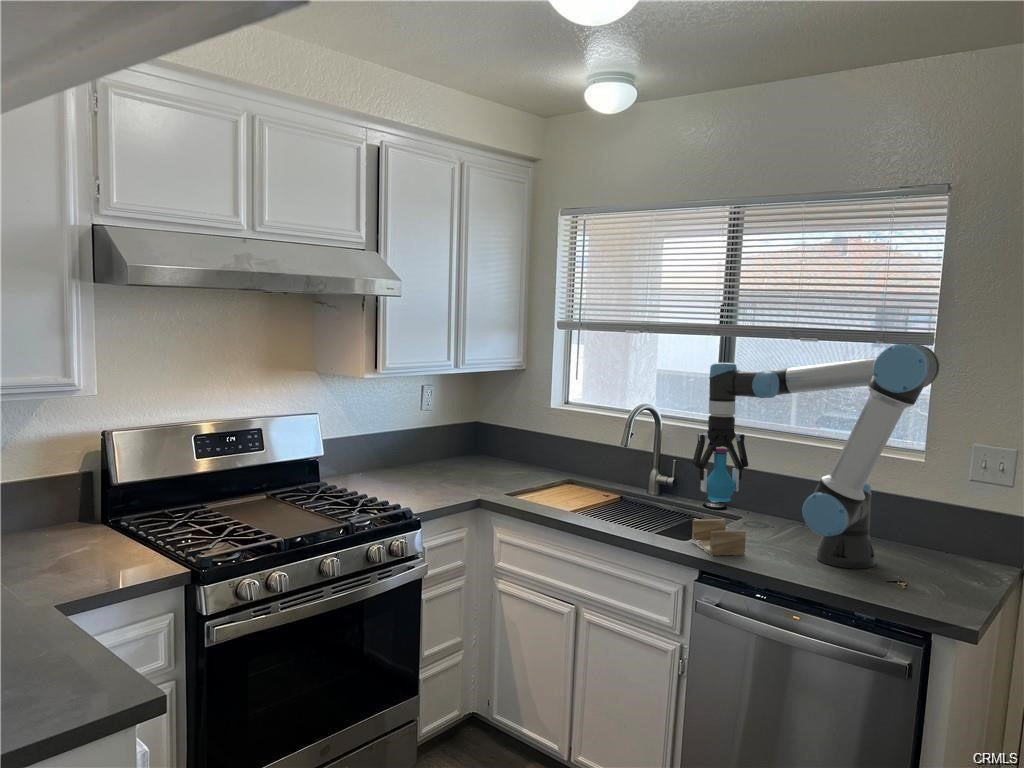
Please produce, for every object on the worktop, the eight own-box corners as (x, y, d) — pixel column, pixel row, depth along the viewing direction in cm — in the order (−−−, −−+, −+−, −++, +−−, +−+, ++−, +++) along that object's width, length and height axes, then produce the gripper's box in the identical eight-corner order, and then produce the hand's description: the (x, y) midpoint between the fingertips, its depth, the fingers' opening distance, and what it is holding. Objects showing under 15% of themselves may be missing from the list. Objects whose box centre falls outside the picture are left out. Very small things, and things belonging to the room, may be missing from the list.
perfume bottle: (733, 496, 227) (735, 447, 226) (736, 503, 218) (738, 451, 217) (702, 495, 229) (703, 446, 228) (703, 501, 220) (705, 450, 219)
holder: (744, 555, 217) (745, 531, 217) (712, 556, 216) (712, 532, 216) (722, 541, 232) (723, 519, 232) (692, 542, 231) (692, 519, 230)
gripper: (750, 413, 227) (748, 487, 228) (681, 414, 224) (679, 488, 225) (762, 416, 220) (760, 492, 221) (691, 416, 216) (688, 494, 218)
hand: (719, 490), depth 223 cm, fingers closed on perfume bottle, 9 cm apart
